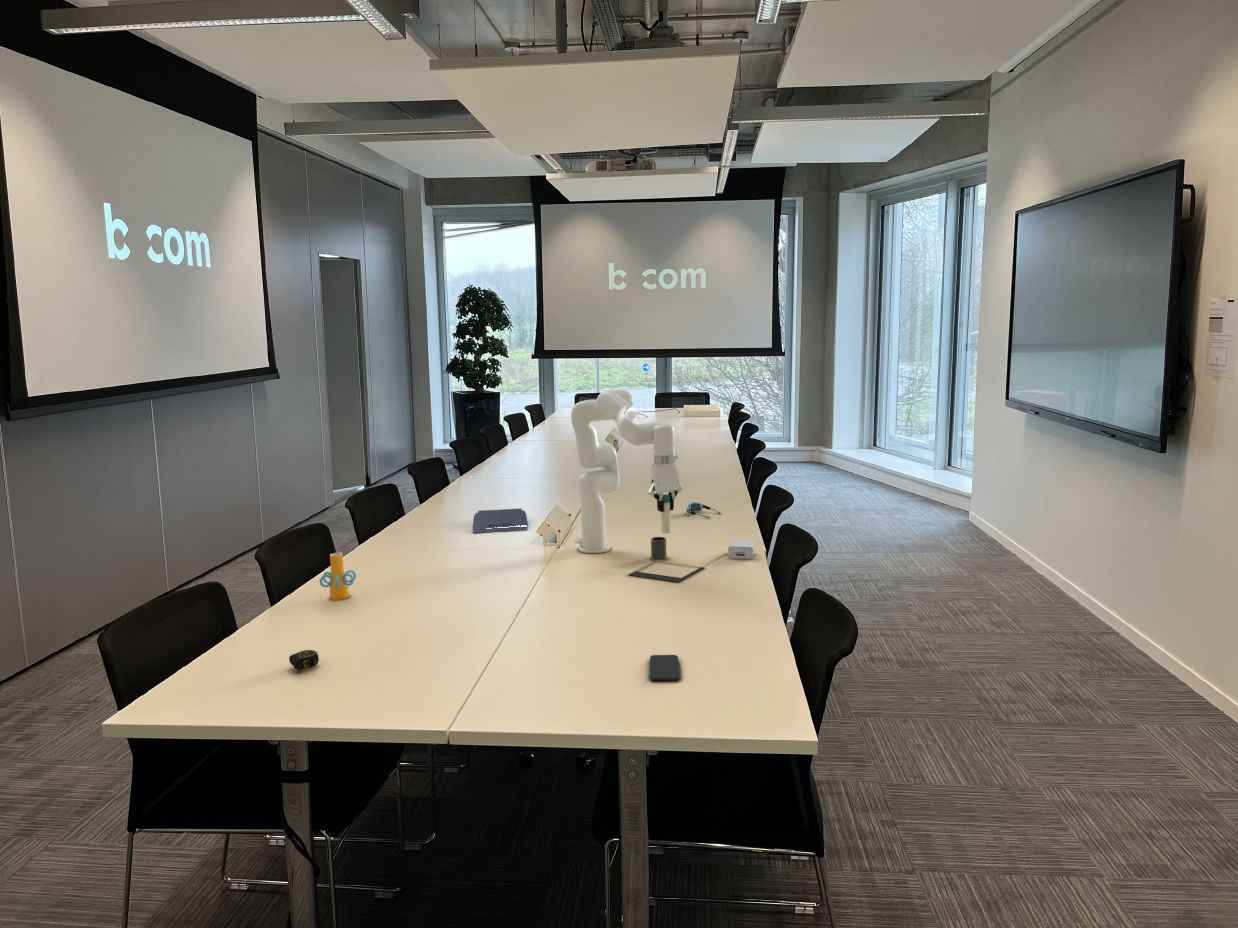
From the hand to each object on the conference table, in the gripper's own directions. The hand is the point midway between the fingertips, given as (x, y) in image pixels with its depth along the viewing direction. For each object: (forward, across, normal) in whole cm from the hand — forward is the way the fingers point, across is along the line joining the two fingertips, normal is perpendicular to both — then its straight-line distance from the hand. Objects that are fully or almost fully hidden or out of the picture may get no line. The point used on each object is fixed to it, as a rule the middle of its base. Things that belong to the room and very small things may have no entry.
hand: (665, 510), depth 303 cm
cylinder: (+23, +108, -34) cm, 116 cm away
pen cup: (+23, -6, -16) cm, 28 cm away
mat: (+23, 0, 0) cm, 23 cm away
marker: (+8, 0, 0) cm, 8 cm away
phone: (+23, +48, +76) cm, 93 cm away
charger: (+23, -37, -5) cm, 44 cm away
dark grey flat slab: (+22, +23, -108) cm, 112 cm away
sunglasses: (+23, -64, -72) cm, 99 cm away
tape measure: (+23, +128, +24) cm, 133 cm away
